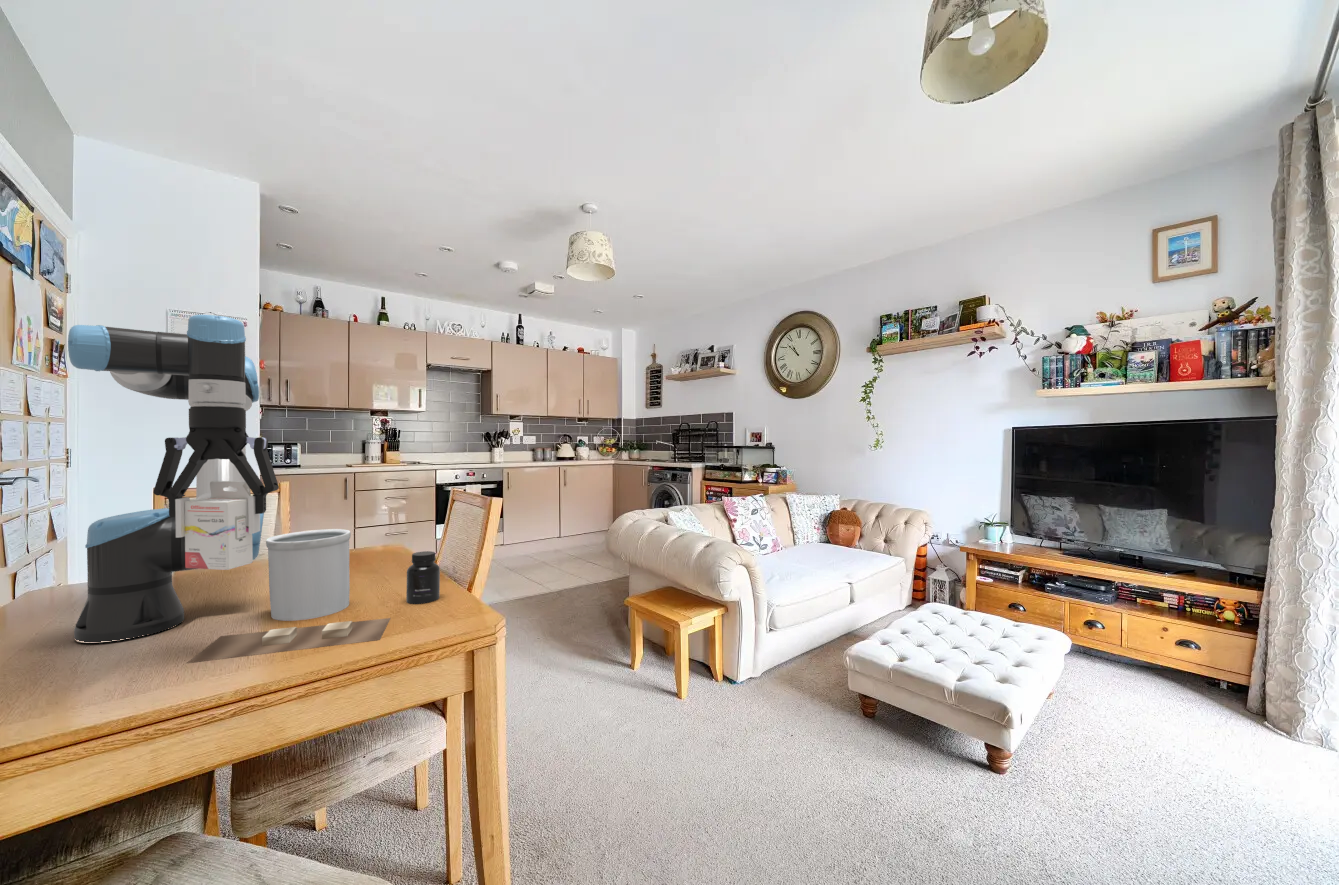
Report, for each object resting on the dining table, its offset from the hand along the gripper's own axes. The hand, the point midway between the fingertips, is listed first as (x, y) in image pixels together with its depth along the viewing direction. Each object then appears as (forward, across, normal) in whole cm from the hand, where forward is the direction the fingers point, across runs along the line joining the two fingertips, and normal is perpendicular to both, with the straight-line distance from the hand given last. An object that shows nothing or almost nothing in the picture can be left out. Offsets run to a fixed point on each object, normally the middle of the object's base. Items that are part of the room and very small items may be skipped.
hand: (219, 534), depth 90 cm
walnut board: (+21, +12, 0) cm, 24 cm away
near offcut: (+20, +9, 0) cm, 22 cm away
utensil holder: (+22, +8, +18) cm, 30 cm away
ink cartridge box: (+6, 0, 0) cm, 6 cm away
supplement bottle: (+22, +30, +17) cm, 41 cm away
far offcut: (+20, +18, 0) cm, 27 cm away
